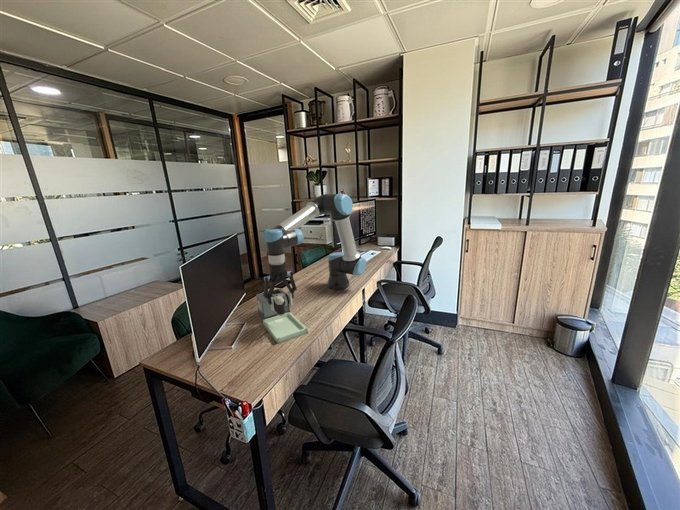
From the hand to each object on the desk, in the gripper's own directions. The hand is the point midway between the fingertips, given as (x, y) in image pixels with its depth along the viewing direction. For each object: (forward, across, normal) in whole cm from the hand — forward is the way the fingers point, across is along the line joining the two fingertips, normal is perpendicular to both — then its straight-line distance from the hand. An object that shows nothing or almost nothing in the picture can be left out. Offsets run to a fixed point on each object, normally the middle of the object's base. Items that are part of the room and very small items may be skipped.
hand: (282, 307), depth 134 cm
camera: (+1, 0, -1) cm, 2 cm away
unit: (+12, -1, -18) cm, 21 cm away
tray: (+12, 0, 0) cm, 12 cm away
